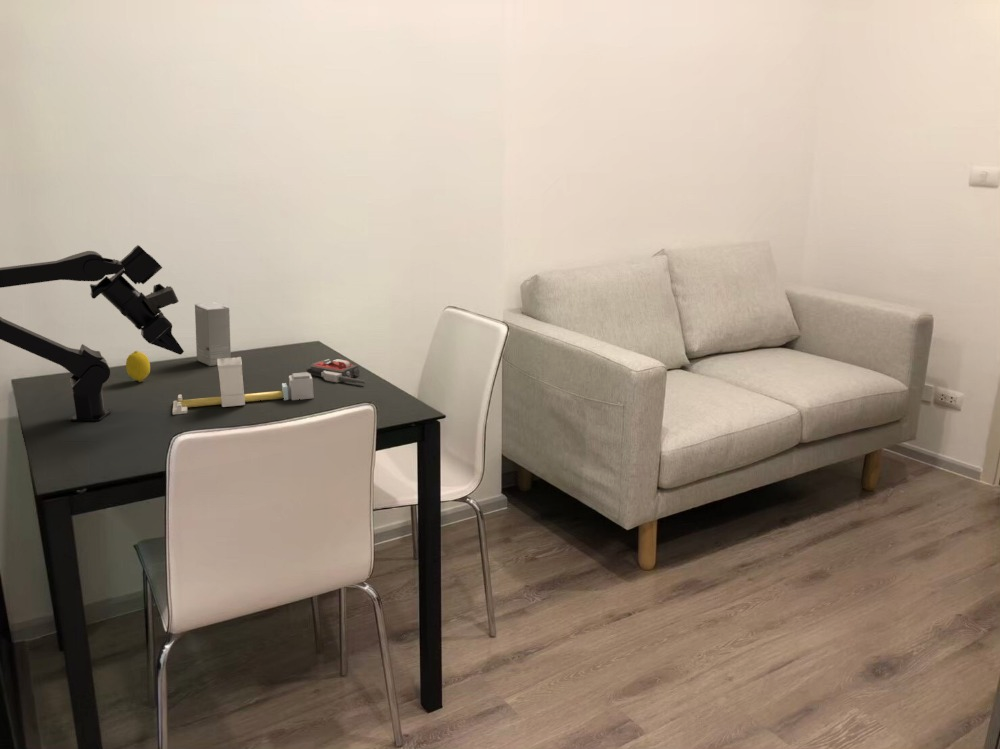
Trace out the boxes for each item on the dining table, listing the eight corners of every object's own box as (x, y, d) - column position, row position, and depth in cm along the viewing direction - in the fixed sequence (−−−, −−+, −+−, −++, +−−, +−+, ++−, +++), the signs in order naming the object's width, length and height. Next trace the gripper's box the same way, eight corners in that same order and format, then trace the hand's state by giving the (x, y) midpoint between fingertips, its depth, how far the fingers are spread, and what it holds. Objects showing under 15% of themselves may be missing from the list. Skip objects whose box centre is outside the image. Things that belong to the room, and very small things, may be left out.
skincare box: (196, 361, 228) (190, 304, 224) (221, 356, 233) (215, 300, 229) (209, 367, 222) (204, 308, 218) (235, 362, 227) (229, 305, 223)
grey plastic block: (284, 401, 194) (282, 378, 193) (282, 395, 198) (280, 373, 197) (313, 398, 196) (312, 376, 195) (311, 392, 200) (310, 371, 199)
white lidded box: (221, 407, 189) (217, 366, 186) (221, 398, 195) (217, 358, 192) (245, 404, 190) (241, 364, 188) (244, 396, 196) (240, 356, 194)
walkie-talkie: (300, 377, 214) (362, 388, 205) (299, 361, 213) (361, 371, 204) (323, 369, 222) (383, 380, 212) (322, 353, 220) (383, 363, 211)
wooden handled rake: (172, 414, 185) (171, 406, 184) (173, 403, 192) (173, 395, 192) (292, 402, 193) (292, 394, 192) (289, 392, 201) (288, 384, 200)
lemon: (156, 378, 212) (152, 348, 209) (145, 385, 206) (141, 354, 204) (135, 378, 212) (131, 347, 210) (123, 384, 207) (119, 353, 205)
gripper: (161, 280, 175) (214, 332, 183) (149, 268, 191) (198, 317, 199) (120, 316, 173) (175, 367, 181) (111, 301, 188) (162, 349, 196)
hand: (178, 348), depth 189 cm, fingers open, 9 cm apart
